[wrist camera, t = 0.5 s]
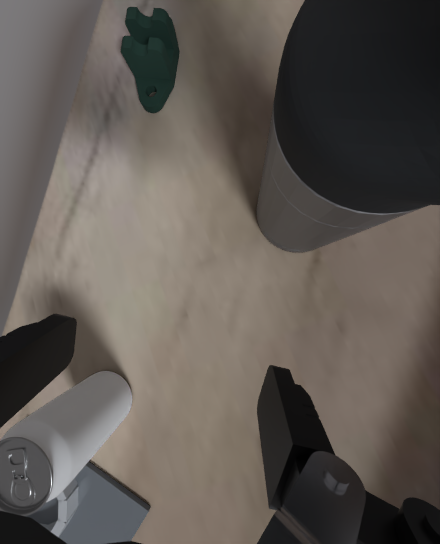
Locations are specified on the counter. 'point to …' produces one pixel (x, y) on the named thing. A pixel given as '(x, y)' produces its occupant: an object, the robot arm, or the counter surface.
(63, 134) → the counter surface
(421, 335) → the counter surface
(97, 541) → the holder
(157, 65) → the mount
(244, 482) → the counter surface
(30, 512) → the can
